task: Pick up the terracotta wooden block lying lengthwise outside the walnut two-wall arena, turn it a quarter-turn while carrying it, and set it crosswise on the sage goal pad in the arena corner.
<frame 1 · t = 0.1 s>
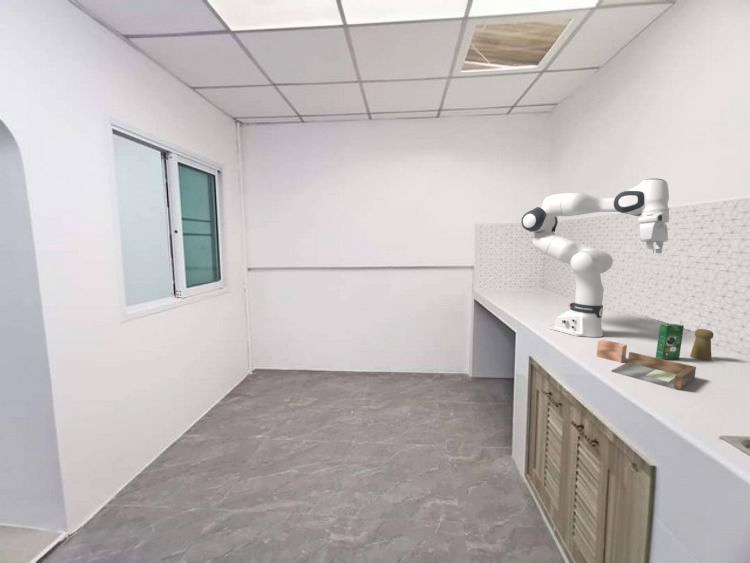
hand: (654, 253, 143), 39 cm above the table, fingers open, 8 cm apart
coffee box: (667, 358, 132), on the table
terracotta block: (610, 358, 131), on the table
cork: (700, 358, 134), on the table
arena: (659, 375, 115), on the table
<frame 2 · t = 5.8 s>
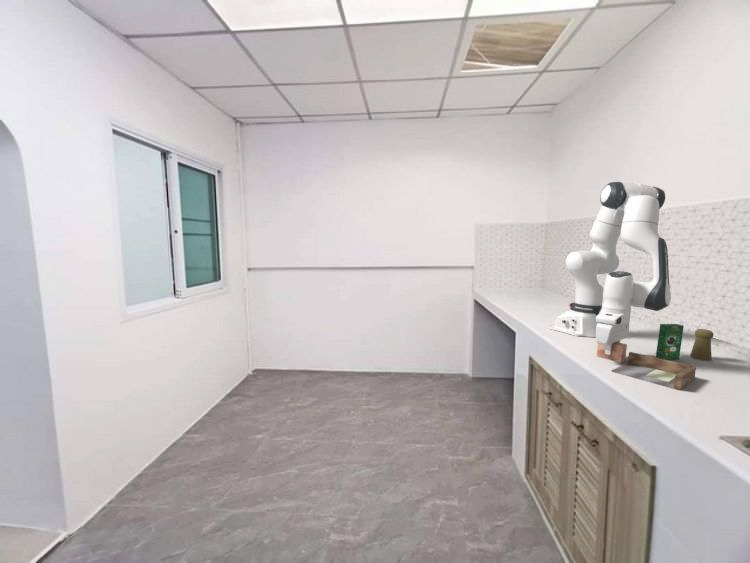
hand: (611, 352, 130), 2 cm above the table, fingers closed on terracotta block, 4 cm apart
terracotta block: (610, 358, 131), on the table, touching gripper
everything else where it was.
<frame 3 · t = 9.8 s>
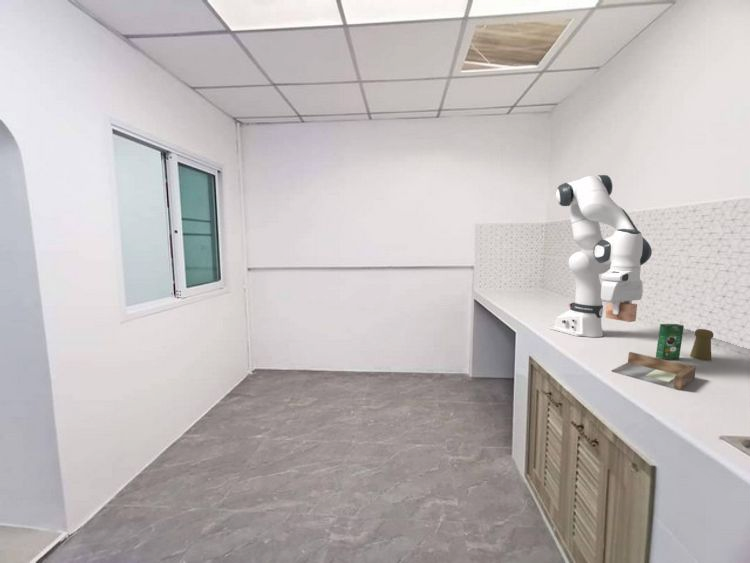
hand: (620, 313, 127), 17 cm above the table, fingers closed on terracotta block, 4 cm apart
terracotta block: (620, 319, 127), point 15 cm above the table, touching gripper
everything else where it was.
when the fingers open (4 cm above the table, at t = 14.3 s): terracotta block drops 2 cm, resting on arena.
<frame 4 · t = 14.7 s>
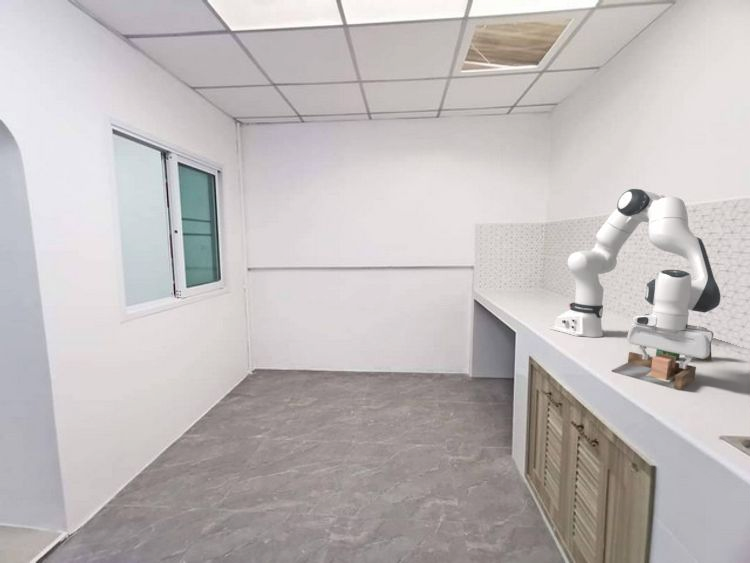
hand: (663, 364, 113), 4 cm above the table, fingers open, 8 cm apart
terracotta block: (662, 375, 113), point 1 cm above the table, touching arena
everything else where it was.
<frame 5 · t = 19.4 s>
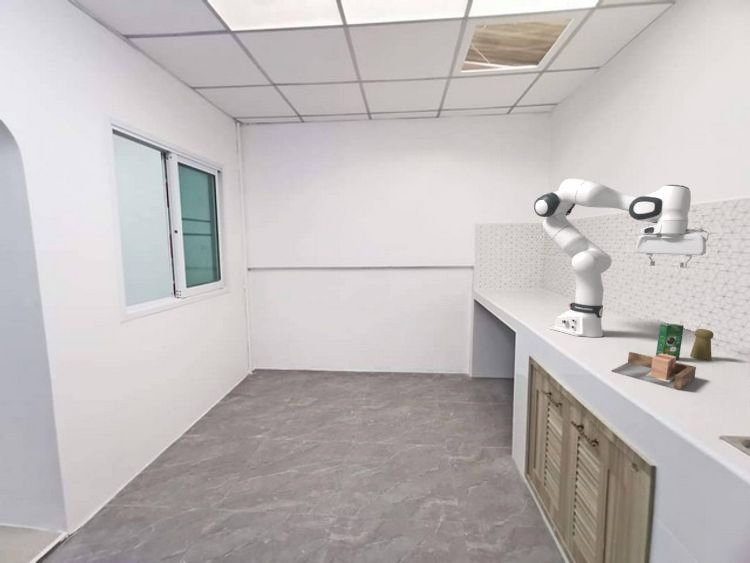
hand: (666, 266, 133), 34 cm above the table, fingers open, 8 cm apart
nothing on the table moved.
at the end: terracotta block inside the target area (0.0 cm from its centre), point 0.6 cm above the table; terracotta block tilted 0°; the gripper is holding nothing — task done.
